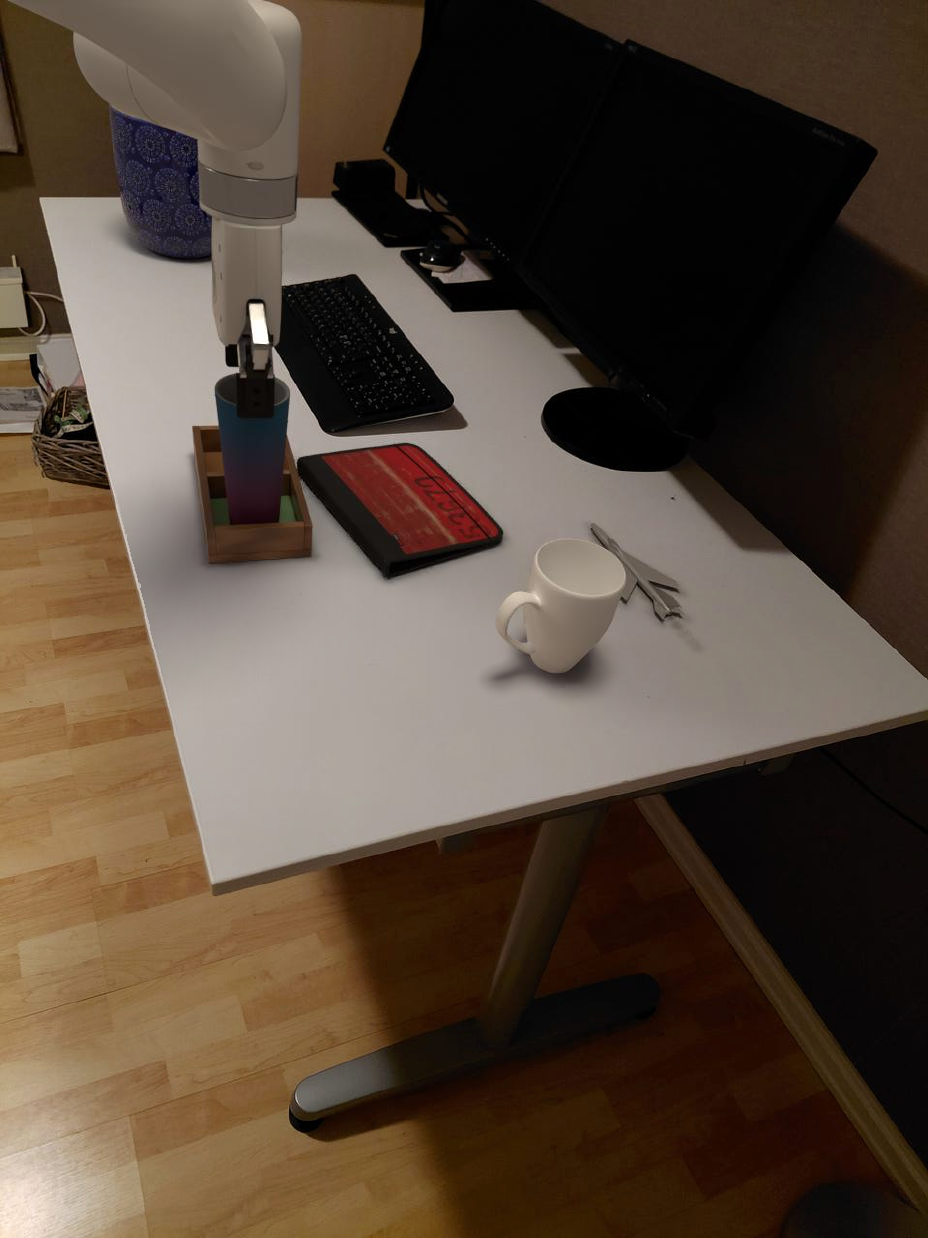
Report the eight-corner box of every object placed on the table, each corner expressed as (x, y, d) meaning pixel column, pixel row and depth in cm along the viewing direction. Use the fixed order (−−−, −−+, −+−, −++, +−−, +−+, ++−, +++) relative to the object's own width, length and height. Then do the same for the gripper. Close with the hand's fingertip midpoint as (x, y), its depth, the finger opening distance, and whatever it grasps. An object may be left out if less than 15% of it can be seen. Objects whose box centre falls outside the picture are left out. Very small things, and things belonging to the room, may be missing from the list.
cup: (294, 508, 91) (298, 379, 81) (278, 546, 85) (279, 413, 75) (232, 496, 90) (227, 366, 80) (211, 533, 85) (204, 399, 75)
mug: (560, 619, 86) (588, 528, 78) (611, 674, 81) (646, 583, 73) (461, 652, 80) (481, 558, 72) (509, 713, 75) (536, 618, 67)
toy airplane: (616, 522, 100) (622, 506, 99) (725, 640, 87) (733, 624, 86) (562, 531, 97) (566, 514, 96) (665, 655, 84) (673, 638, 82)
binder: (388, 561, 84) (295, 455, 96) (385, 579, 86) (294, 472, 98) (513, 531, 93) (414, 436, 105) (508, 547, 94) (411, 452, 106)
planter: (158, 273, 132) (145, 126, 119) (103, 232, 141) (85, 91, 128) (259, 259, 143) (258, 122, 129) (203, 221, 152) (196, 90, 138)
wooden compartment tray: (208, 563, 84) (206, 531, 81) (194, 456, 97) (192, 425, 94) (311, 556, 87) (312, 525, 84) (283, 453, 100) (284, 424, 98)
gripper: (191, 154, 71) (199, 347, 82) (208, 224, 59) (214, 438, 70) (281, 163, 74) (277, 350, 85) (314, 232, 62) (304, 438, 73)
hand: (248, 390), depth 78 cm, fingers open, 9 cm apart
